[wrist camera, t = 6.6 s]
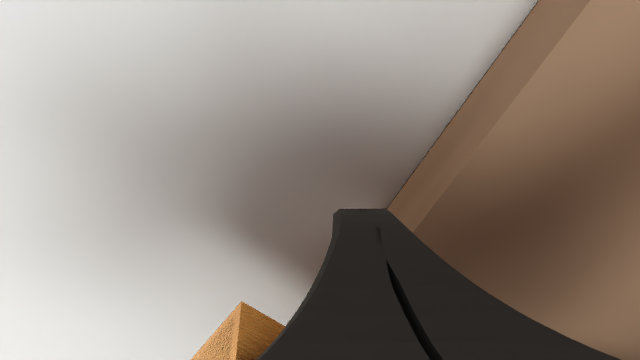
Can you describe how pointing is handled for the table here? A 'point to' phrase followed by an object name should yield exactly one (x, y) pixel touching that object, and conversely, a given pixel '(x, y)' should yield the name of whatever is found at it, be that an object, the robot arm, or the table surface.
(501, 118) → the bench block
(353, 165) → the table surface
